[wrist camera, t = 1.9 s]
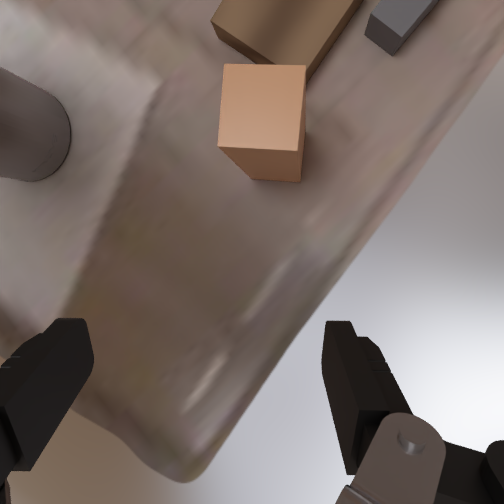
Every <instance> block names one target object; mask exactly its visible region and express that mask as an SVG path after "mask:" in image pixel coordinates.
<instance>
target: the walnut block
mask: <svg viewBox="0 0 504 504" xmlns="http://www.w3.org/2000/svg"><path fill="white" fill-rule="evenodd" d="M362 1H363V0H223V1H222V2H221V4H220V5H219V7H218V9H217V10H216V12H215V14H214V15H213V17H212V19H211V20H210V21H211V23H212V25H213V27H214V30H215V32H216V34H217V36H218V38H219V39H220V40H222V41H223V42H225V43H226V44H228V45H229V46H231V47H232V48H234V49H235V50H237V51H238V52H240V53H241V54H243V55H244V56H246V57H247V58H249V59H250V60H252V61H253V62H255V63H256V64H261V65H306V84H307V82H308V81H309V79H310V78H311V76H312V75H313V73H314V72H315V70H316V69H317V67H318V66H319V65H320V63H321V62H322V60H323V59H324V57H325V56H326V54H327V53H328V51H329V50H330V48H331V47H332V45H333V44H334V43H335V41H336V40H337V38H338V37H339V35H340V34H341V32H342V31H343V29H344V28H345V26H346V25H347V23H348V22H349V21H350V19H351V18H352V16H353V15H354V13H355V12H356V10H357V9H358V7H359V6H360V4H361V3H362Z"/></svg>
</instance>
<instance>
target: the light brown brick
mask: <svg viewBox="0 0 504 504" xmlns="http://www.w3.org/2000/svg"><path fill="white" fill-rule="evenodd" d="M305 109H306V65H261V64H224V73H223V85H222V98H221V110H220V123H219V135H218V147H219V148H220V149H221V150H222V151H223V152H224V153H225V154H226V155H227V156H228V157H229V158H230V159H231V160H232V161H233V162H234V163H235V164H236V165H237V166H239V167H240V168H241V169H242V170H243V171H244V172H245V173H246V174H247V175H248V176H249V177H250V178H251V179H258V180H272V181H287V182H300V180H301V170H302V160H303V150H304V140H305Z"/></svg>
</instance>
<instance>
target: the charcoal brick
mask: <svg viewBox="0 0 504 504" xmlns="http://www.w3.org/2000/svg"><path fill="white" fill-rule="evenodd" d="M438 1H439V0H381V1H380V2H379V4H378V5H377V6H376V7H375V9H374V10H373V11H372V12H371V14H370V17H369V21H368V24H367V27H366V30H365V34H364V35H365V36H367V37H368V38H369V39H370V40H372V41H373V42H374V43H376V44H377V45H378V46H379V47H381V48H382V49H383V50H385V51H386V52H387V53H388V54H390V55H391V56H393V55H394V54H395V52H396V51H397V50H398V49H399V48H400V46H401V45H402V44H403V43H404V42H405V40H406V39H407V38H408V37H409V36H410V34H411V33H412V32H413V31H414V30H415V28H416V27H417V26H418V25H419V24H420V23H421V21H422V20H423V19H424V18H425V17H426V15H427V14H428V13H429V12H430V11H431V9H432V8H433V7H434V6H435V5H436V3H437V2H438Z"/></svg>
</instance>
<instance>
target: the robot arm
mask: <svg viewBox="0 0 504 504" xmlns="http://www.w3.org/2000/svg"><path fill="white" fill-rule="evenodd" d="M69 143H70V127H69V121H68V118H67V115H66V112H65V111H64V109H63V107H62V106H61V104H60V103H59V102H58V101H57V99H56V98H55V97H54V96H52V95H51V94H49V93H48V92H47V91H45V90H43V89H41V88H39V87H37V86H35V85H33V84H32V83H30V82H28V81H26V80H24V79H22V78H20V77H19V76H17V75H15V74H13V73H11V72H9V71H8V70H6V69H4V68H2V67H0V177H5V178H11V179H17V180H23V181H37V180H40V179H44V178H45V177H47V176H49V175H51V174H52V173H53V172H54V171H55V170H56V169H58V167H59V166H60V165H61V163H62V162H63V160H64V158H65V156H66V154H67V152H68V147H69ZM321 363H322V375H323V380H324V384H325V387H326V392H327V396H328V400H329V404H330V408H331V412H332V416H333V420H334V424H335V428H336V432H337V437H338V440H339V444H340V449H341V453H342V457H343V461H344V465H345V469H346V473H347V475H355V477H354V479H353V481H352V483H351V484H350V486H349V485H346V486H345V487H344V489H343V490H342V492H341V494H340V496H339V497H338V499H337V501H336V503H335V504H504V440H500V441H495V442H493V443H491V444H490V445H489V446H488V448H487V450H486V452H485V453H482V452H479V451H476V450H472V449H469V448H465V447H462V446H459V445H455V444H452V443H449V442H446V441H444V440H443V439H442V437H441V436H440V435H439V433H438V432H437V431H436V430H435V429H434V428H433V427H432V426H431V425H430V424H429V423H427V422H426V421H424V420H422V419H421V418H419V417H416V416H414V415H413V413H412V411H411V409H410V408H409V405H408V403H407V401H406V399H405V397H404V395H403V394H402V392H401V390H400V388H399V386H398V384H397V382H396V380H395V378H394V376H393V374H392V373H391V370H390V368H389V366H388V364H387V363H386V362H385V358H384V356H383V354H382V352H381V350H380V348H379V347H378V346H377V345H376V344H375V343H373V342H372V341H371V340H370V339H369V338H368V337H357V335H356V333H355V330H354V328H353V326H352V323H351V322H350V321H327V322H326V325H325V333H324V341H323V350H322V362H321ZM93 364H94V354H93V350H92V345H91V341H90V337H89V332H88V328H87V324H86V321H85V320H84V319H82V318H58V319H56V320H55V321H54V322H53V323H52V324H51V325H50V326H49V327H48V328H47V329H46V330H45V331H44V332H43V333H39V334H38V335H36V336H34V337H33V338H31V339H29V340H28V341H26V342H25V343H23V344H22V345H21V346H20V347H19V348H18V349H17V350H16V351H15V352H14V353H13V354H12V355H11V358H8V359H7V360H6V361H5V362H4V363H3V364H2V365H1V368H0V504H11V496H10V487H9V483H8V481H7V477H8V475H9V473H10V472H11V471H31V469H32V467H33V466H34V464H35V462H36V461H37V459H38V458H39V456H40V454H41V453H42V451H43V449H44V448H45V446H46V445H47V443H48V442H49V440H50V438H51V437H52V435H53V434H54V432H55V430H56V429H57V427H58V426H59V424H60V422H61V421H62V419H63V417H64V416H65V414H66V413H67V411H68V409H69V408H70V406H71V405H72V403H73V401H74V400H75V398H76V397H77V395H78V393H79V392H80V390H81V389H82V387H83V385H84V384H85V382H86V381H87V379H88V377H89V376H90V374H91V372H92V369H93Z"/></svg>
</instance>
